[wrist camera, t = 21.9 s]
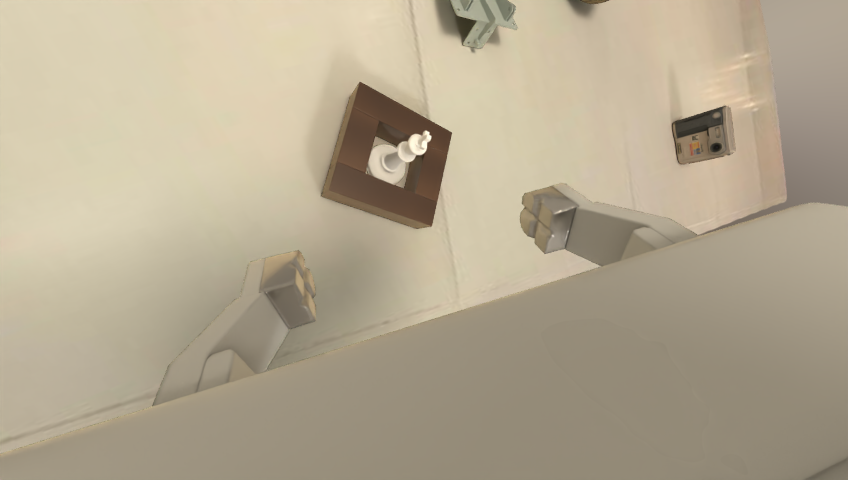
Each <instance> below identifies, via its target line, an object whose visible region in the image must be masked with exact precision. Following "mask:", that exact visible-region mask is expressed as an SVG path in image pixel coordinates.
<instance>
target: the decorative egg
mask: <svg viewBox="0 0 848 480" xmlns="http://www.w3.org/2000/svg"><path fill="white" fill-rule="evenodd" d="M581 1H582V2H585V3H589V4H598V3H603V2H606V1H609V0H581Z"/></svg>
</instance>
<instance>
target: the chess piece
mask: <svg viewBox="0 0 848 480" xmlns="http://www.w3.org/2000/svg"><path fill="white" fill-rule="evenodd" d="M429 133H430V132H428V131H426V130H425V131H424V132H423V135H422V136H421V135H419V134H413V135H412V136H411V137H410V138H409V140H408V142H407V141H404V142H401V143H400V144H399V145H398V147H397V148H395V147H394V146H392V145H389V144H380V145H377V146H375V147H373V148H372V150H371V154H370V157H369V161H368V165H367V172H368V174H369V175H371V176H373V177H376V178H378V179H381V180H383V181H386V182H388V183H391V184H393V185H395V184H397V183H398V182H399V181H400V180H401V179H402V178H403V177H404V174H405V171H406V163H405V162H411V161H413V160H414V158H415V157H416V155H422V154H424V153H425V152H426V149H427V142H429V141H431V136H430V135H429Z"/></svg>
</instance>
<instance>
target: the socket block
mask: <svg viewBox="0 0 848 480" xmlns="http://www.w3.org/2000/svg"><path fill="white" fill-rule="evenodd" d="M425 130H426V131H428V132H430V133H429V135H430V136H431V141H429V142H427V149H426V152H425V153H424V154H422V155H416V157H415V158H414V160H413V161H411V162H410V166H409V171H408V175H407V179H406V183H405V187H404V189H403V188H401V187H398V186H396V185H393V184H391V183H388V182H386V181H383V180H381V179H378V178H376V177H373V176H371V175H368V174H366V173H365V172H366V169H367V165H368V161H369V157H370V154H371V150H372V146H373V142H374V138H375V136H377V137H380V138H382V139H384V140H386V141H388V142H390V143H392V144H394V145H396V146H398V145H399V144H400V143H401V142H404V141H407V142H408V140H409V138H410V137H411V136H412V135H413V134H419V135H421V136H422V135H423V132H424V131H425ZM451 135H452V132H450V131H448V130H446V129H445V128H443V127H441V126H439V125H437V124H435V123H434V122H432V121H430V120H428V119H426V118H425V117H423V116H421V115H419V114H417V113H416V112H414V111H412V110H410V109H408V108H407V107H405V106H403V105H401V104H399V103H398V102H396V101H394V100H392V99H390V98H388V97H387V96H385V95H383V94H381V93H379V92H378V91H376V90H374V89H372V88H370V87H369V86H367V85H365V84H363V83H361V82H359V84H358V85H357V87H356V88H355V90H354V91H353V93H352V95H351V96H350V98H349V102H348V105H347V109H346V112H345V116H344V119H343V123H342V126H341V130H340V133H339V136H338V140H337V143H336V147H335V150H334V154H333V157H332V161H331V164H330V168H329V171H328V175H327V178H326V182H325V185H324V189H323V192H322V195H321V196H322V197H325V198H328V199H331V200H334V201H336V202H339V203H342V204H345V205H348V206H351V207H354V208H357V209H360V210H363V211H366V212H369V213H372V214H375V215H378V216H381V217H384V218H387V219H390V220H393V221H396V222H399V223H402V224H405V225H407V226H410V227H413V228H416V229H419V228H425V227H431V226H432V223H433V219H434V214H435V209H436V205H437V200H438V195H439V191H440V186H441V182H442V177H443V172H444V168H445V163H446V159H447V154H448V149H449V145H450V140H451Z"/></svg>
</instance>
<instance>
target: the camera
mask: <svg viewBox="0 0 848 480" xmlns="http://www.w3.org/2000/svg"><path fill="white" fill-rule="evenodd" d="M673 134H674V138H675V142H676V149H677V156H678V161H679V163H680V164H686V163H689V164H690V163H695V162H700V161H705V160H710V159H714V158H719V157H724V156H725V155H731V154H733V153H734V152H735V151H736V148H735V139H734V131H733V123H732V115H731V108H730V107H729V106H725V107H724V106H723V107H720V108H716V109H713V110H710V111H707V112H704V113H701V114H697V115H694V116H691V117H688V118H685V119H682V120H678V121H676V122H674V123H673Z"/></svg>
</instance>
